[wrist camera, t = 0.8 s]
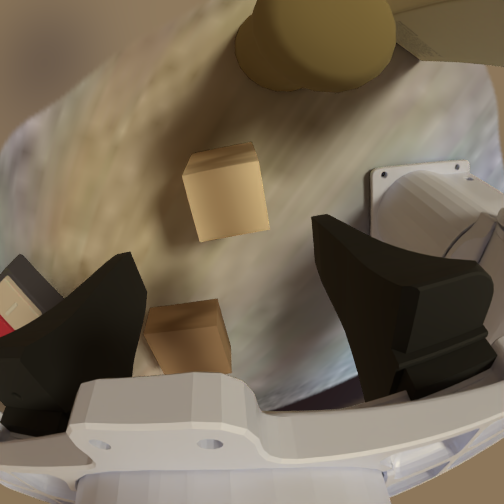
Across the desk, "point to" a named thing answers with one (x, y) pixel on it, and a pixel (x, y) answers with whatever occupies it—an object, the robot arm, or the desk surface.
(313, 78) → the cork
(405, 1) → the box
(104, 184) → the desk surface
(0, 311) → the calculator
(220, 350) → the walnut base
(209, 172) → the beech block
